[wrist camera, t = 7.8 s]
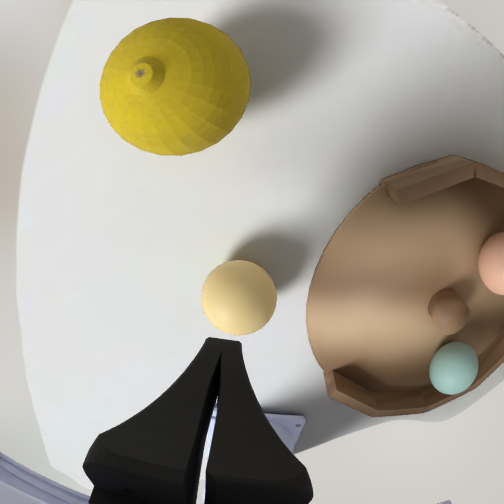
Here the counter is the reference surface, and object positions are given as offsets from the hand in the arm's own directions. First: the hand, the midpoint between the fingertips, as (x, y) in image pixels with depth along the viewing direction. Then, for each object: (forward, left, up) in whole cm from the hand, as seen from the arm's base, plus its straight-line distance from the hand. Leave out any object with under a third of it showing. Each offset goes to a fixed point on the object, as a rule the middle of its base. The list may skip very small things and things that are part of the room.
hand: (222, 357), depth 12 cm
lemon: (+10, +3, -7) cm, 13 cm away
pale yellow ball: (0, +1, -6) cm, 6 cm away
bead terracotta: (+4, -16, -6) cm, 18 cm away
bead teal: (-4, -16, -6) cm, 18 cm away
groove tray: (0, -14, -7) cm, 16 cm away
